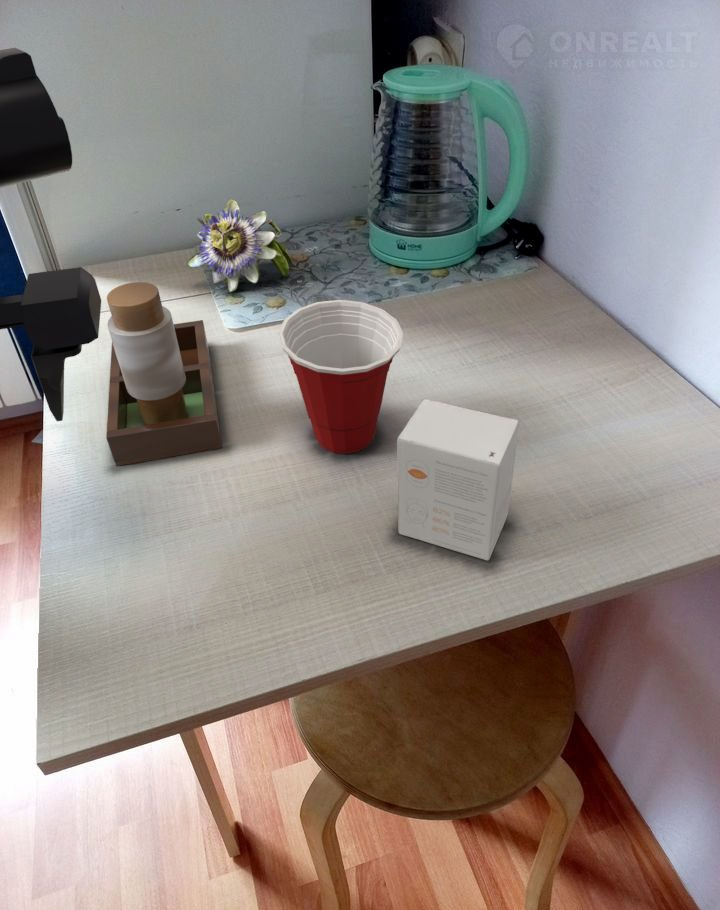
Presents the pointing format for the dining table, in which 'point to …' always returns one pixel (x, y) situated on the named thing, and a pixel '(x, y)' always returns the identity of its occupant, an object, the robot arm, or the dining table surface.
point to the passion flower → (237, 246)
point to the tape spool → (147, 351)
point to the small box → (455, 477)
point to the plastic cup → (341, 367)
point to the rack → (170, 437)
